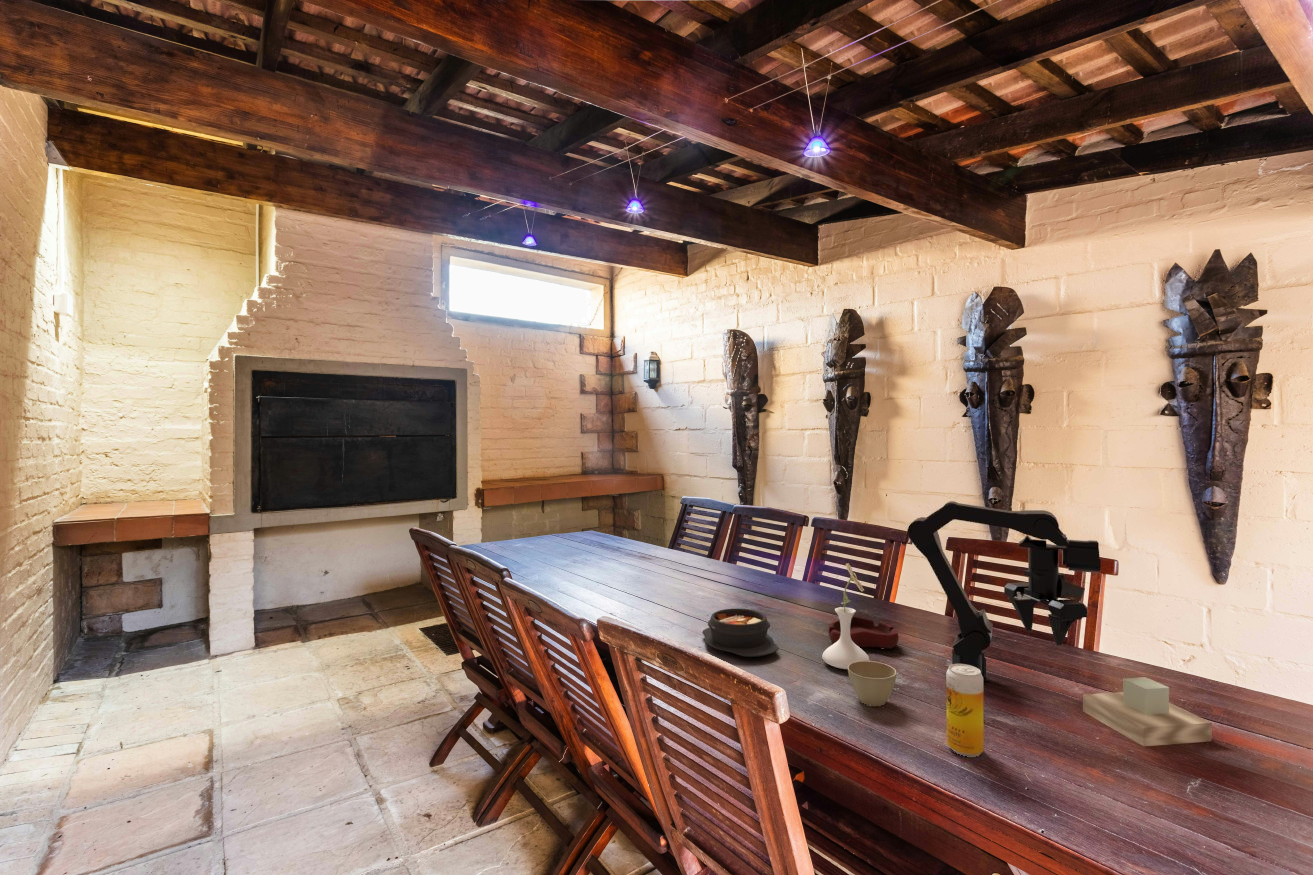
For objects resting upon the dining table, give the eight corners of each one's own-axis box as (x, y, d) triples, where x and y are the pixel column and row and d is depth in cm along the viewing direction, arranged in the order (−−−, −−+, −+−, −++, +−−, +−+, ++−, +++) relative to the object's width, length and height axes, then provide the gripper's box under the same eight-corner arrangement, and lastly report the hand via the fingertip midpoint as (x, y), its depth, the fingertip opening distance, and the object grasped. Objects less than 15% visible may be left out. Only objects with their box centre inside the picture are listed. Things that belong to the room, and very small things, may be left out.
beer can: (940, 742, 116) (939, 663, 115) (970, 740, 116) (970, 661, 116) (958, 759, 109) (958, 676, 109) (991, 757, 110) (990, 674, 110)
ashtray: (885, 633, 176) (885, 615, 176) (902, 654, 160) (902, 635, 160) (822, 631, 178) (822, 614, 178) (832, 652, 162) (832, 633, 162)
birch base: (1143, 748, 113) (1143, 727, 113) (1082, 713, 127) (1082, 694, 127) (1211, 743, 115) (1211, 722, 114) (1144, 709, 128) (1144, 690, 128)
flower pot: (895, 694, 136) (895, 662, 136) (897, 715, 126) (897, 680, 126) (848, 689, 139) (848, 657, 139) (847, 708, 130) (846, 675, 130)
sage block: (1146, 714, 118) (1146, 689, 118) (1123, 703, 123) (1123, 678, 123) (1169, 712, 118) (1169, 687, 118) (1145, 701, 123) (1145, 676, 123)
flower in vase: (864, 677, 145) (863, 572, 145) (816, 668, 151) (815, 567, 151) (875, 659, 157) (874, 561, 156) (830, 651, 162) (829, 557, 162)
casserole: (687, 638, 174) (686, 608, 174) (741, 627, 182) (741, 599, 182) (735, 669, 152) (735, 635, 152) (795, 655, 160) (795, 623, 160)
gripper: (1111, 576, 128) (1111, 650, 128) (1046, 557, 146) (1046, 622, 147) (1062, 578, 127) (1062, 653, 127) (1002, 559, 145) (1002, 624, 146)
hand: (1043, 637), depth 137 cm, fingers open, 9 cm apart
